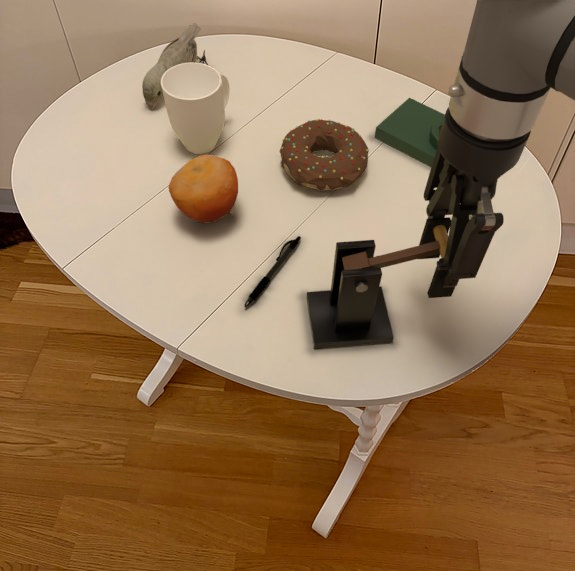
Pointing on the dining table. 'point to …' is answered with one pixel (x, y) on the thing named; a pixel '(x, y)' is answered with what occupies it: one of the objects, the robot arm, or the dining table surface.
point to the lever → (400, 253)
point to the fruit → (205, 188)
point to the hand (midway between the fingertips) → (433, 274)
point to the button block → (412, 130)
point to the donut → (326, 169)
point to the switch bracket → (350, 304)
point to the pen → (272, 270)
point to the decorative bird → (171, 63)
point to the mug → (196, 104)
